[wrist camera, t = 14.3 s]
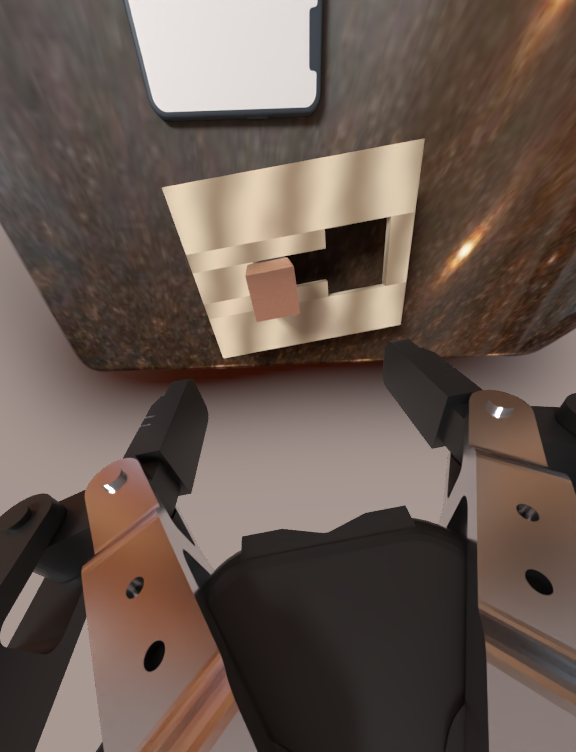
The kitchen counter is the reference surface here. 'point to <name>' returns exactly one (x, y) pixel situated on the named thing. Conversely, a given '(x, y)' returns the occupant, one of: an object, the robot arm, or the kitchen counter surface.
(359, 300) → the keyhole plate
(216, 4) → the smartphone
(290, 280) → the footed peg
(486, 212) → the kitchen counter surface
